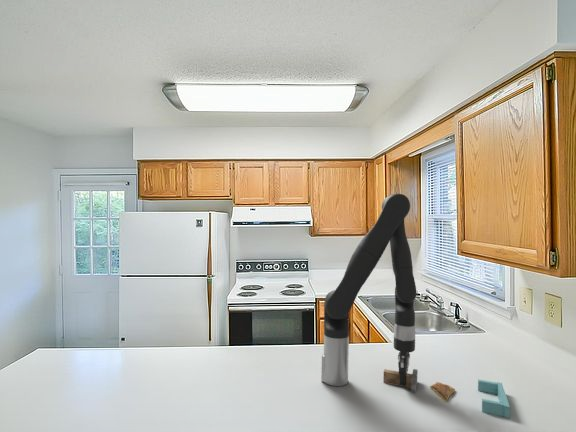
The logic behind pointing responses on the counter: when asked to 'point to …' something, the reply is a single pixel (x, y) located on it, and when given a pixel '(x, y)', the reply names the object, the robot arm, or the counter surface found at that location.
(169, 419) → the counter surface
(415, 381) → the hammer
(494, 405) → the u-shaped bracket
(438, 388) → the shard
